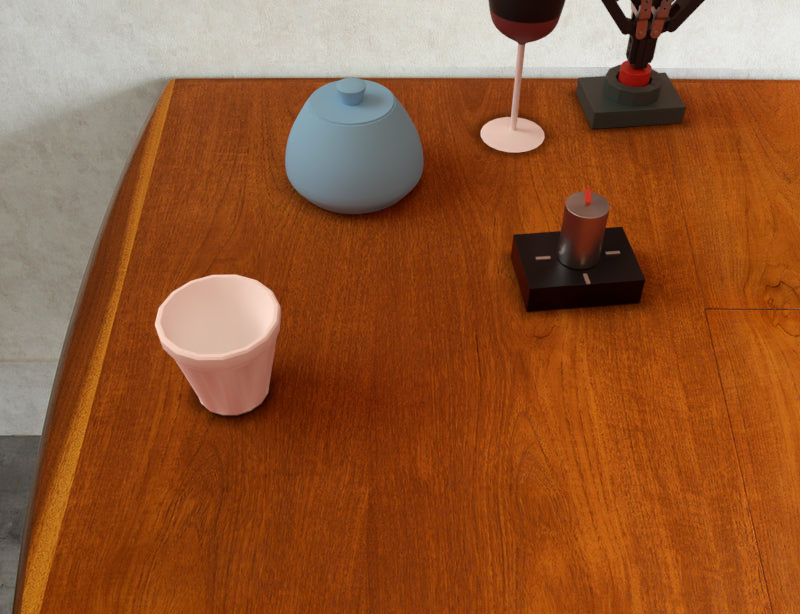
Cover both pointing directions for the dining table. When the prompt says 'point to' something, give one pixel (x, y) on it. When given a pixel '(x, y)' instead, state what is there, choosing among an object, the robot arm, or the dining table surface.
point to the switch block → (629, 101)
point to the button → (634, 75)
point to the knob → (582, 229)
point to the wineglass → (520, 67)
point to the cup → (222, 339)
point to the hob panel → (575, 273)
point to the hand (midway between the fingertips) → (637, 65)
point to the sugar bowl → (353, 148)
